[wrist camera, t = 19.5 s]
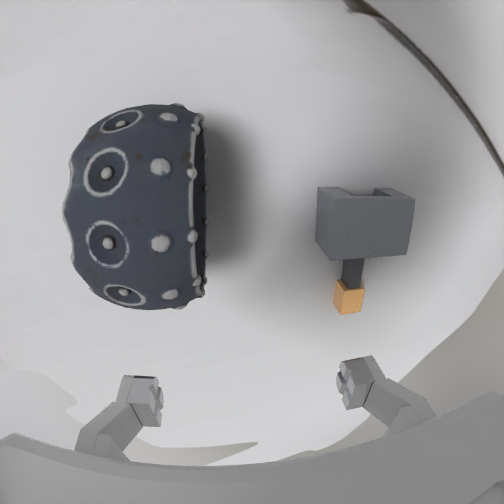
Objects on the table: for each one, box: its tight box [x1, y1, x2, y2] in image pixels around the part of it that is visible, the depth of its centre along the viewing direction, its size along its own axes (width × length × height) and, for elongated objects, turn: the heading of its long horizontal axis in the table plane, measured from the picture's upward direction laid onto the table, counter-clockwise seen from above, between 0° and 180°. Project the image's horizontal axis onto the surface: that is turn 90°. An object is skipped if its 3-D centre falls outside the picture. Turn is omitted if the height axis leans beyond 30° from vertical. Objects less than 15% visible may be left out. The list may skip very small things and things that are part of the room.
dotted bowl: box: [62, 103, 209, 310], centre depth 27 cm, size 11×20×20 cm, turn 178°
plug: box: [333, 258, 365, 315], centre depth 41 cm, size 18×4×3 cm, turn 1°
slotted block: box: [315, 187, 415, 261], centre depth 37 cm, size 8×12×6 cm, turn 91°
